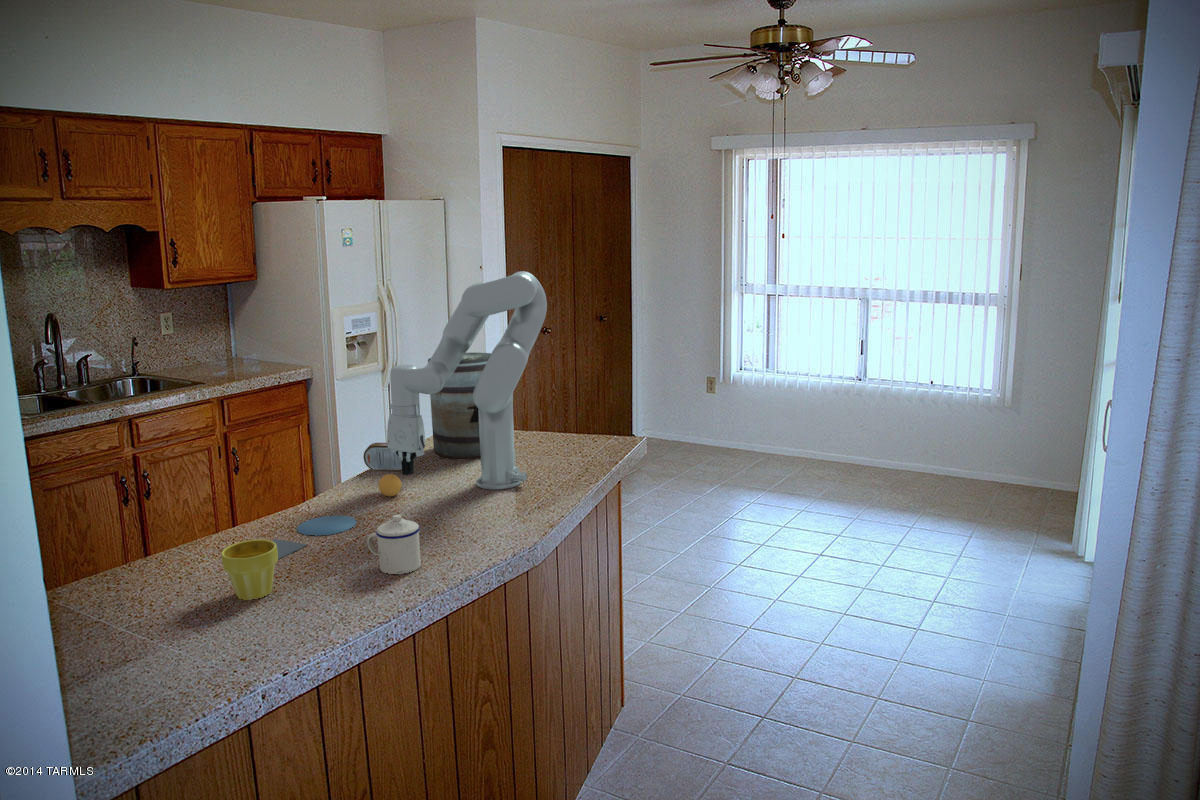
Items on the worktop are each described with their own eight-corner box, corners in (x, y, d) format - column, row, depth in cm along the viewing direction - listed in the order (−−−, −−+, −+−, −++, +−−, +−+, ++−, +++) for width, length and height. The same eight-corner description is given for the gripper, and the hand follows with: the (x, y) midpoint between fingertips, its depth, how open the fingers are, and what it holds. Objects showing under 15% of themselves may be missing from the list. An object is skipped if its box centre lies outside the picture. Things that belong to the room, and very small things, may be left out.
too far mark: (308, 545, 204) (307, 544, 204) (275, 560, 195) (275, 560, 195) (275, 539, 208) (275, 538, 208) (242, 554, 199) (242, 553, 199)
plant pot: (248, 609, 171) (243, 561, 169) (215, 598, 177) (209, 552, 174) (292, 589, 180) (287, 544, 178) (259, 579, 185) (254, 535, 183)
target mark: (368, 520, 220) (368, 519, 220) (329, 539, 208) (329, 538, 208) (324, 513, 226) (324, 512, 226) (284, 531, 213) (284, 530, 213)
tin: (415, 469, 264) (413, 442, 262) (412, 472, 261) (410, 444, 259) (367, 469, 266) (364, 442, 264) (363, 472, 262) (361, 444, 261)
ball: (406, 493, 240) (405, 472, 239) (393, 500, 235) (391, 478, 234) (388, 491, 243) (387, 470, 242) (374, 497, 237) (373, 476, 236)
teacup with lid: (429, 561, 193) (426, 510, 190) (409, 577, 184) (405, 524, 182) (380, 556, 196) (376, 506, 194) (358, 572, 188) (354, 520, 185)
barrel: (508, 455, 276) (504, 361, 270) (436, 462, 271) (429, 366, 264) (499, 438, 297) (495, 350, 291) (432, 444, 292) (426, 355, 286)
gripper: (375, 410, 242) (377, 474, 246) (419, 415, 236) (422, 481, 240) (392, 404, 249) (394, 467, 253) (436, 410, 243) (438, 474, 247)
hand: (408, 473), depth 247 cm, fingers closed
